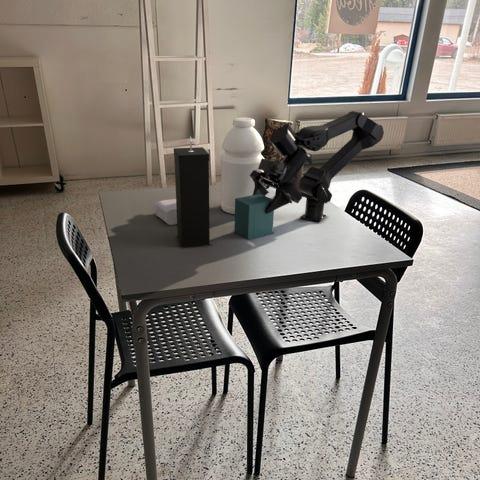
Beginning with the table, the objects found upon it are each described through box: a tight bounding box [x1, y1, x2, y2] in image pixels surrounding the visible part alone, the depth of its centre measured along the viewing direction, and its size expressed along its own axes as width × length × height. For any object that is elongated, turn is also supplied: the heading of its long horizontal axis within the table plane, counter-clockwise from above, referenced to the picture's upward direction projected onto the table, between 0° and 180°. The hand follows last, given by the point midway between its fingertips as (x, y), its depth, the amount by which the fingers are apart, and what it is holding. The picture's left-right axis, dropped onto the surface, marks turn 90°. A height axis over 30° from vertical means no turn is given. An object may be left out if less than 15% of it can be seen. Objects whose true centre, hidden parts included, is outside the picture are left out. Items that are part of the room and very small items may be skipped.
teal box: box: [233, 194, 275, 240], centre depth 145 cm, size 9×7×10 cm
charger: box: [155, 198, 177, 226], centre depth 156 cm, size 5×9×15 cm
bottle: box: [219, 116, 265, 215], centre depth 158 cm, size 14×14×28 cm
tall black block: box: [173, 136, 211, 248], centre depth 133 cm, size 8×8×28 cm
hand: (258, 209), depth 144 cm, fingers closed on teal box, 7 cm apart
